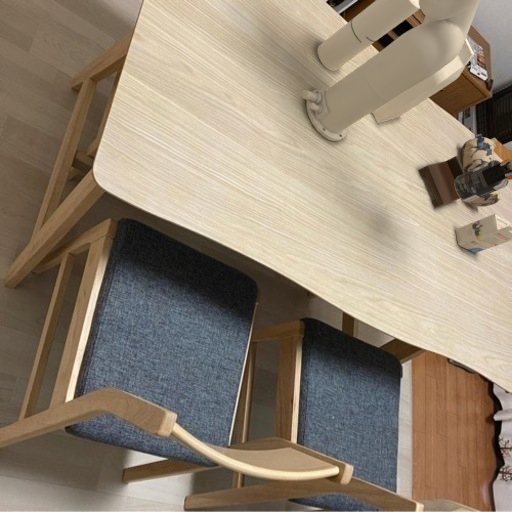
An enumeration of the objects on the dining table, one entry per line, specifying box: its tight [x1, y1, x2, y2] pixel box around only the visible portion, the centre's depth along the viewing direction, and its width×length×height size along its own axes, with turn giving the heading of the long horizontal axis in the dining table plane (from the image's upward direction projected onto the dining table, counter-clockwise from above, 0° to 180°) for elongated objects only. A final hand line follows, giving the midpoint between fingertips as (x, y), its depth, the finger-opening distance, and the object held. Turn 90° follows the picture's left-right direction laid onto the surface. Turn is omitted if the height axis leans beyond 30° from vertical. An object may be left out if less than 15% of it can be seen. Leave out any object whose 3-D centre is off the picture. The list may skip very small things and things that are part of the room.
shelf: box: [418, 155, 465, 209], centre depth 153 cm, size 12×11×6 cm
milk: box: [371, 37, 475, 124], centre depth 140 cm, size 12×12×26 cm
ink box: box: [455, 213, 512, 254], centre depth 151 cm, size 8×5×15 cm, turn 89°
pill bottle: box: [455, 158, 512, 203], centre depth 117 cm, size 6×6×11 cm
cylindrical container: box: [316, 0, 421, 72], centre depth 131 cm, size 7×7×25 cm
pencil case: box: [461, 133, 501, 208], centre depth 165 cm, size 22×8×10 cm, turn 173°
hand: (492, 176), depth 116 cm, fingers closed on pill bottle, 6 cm apart
